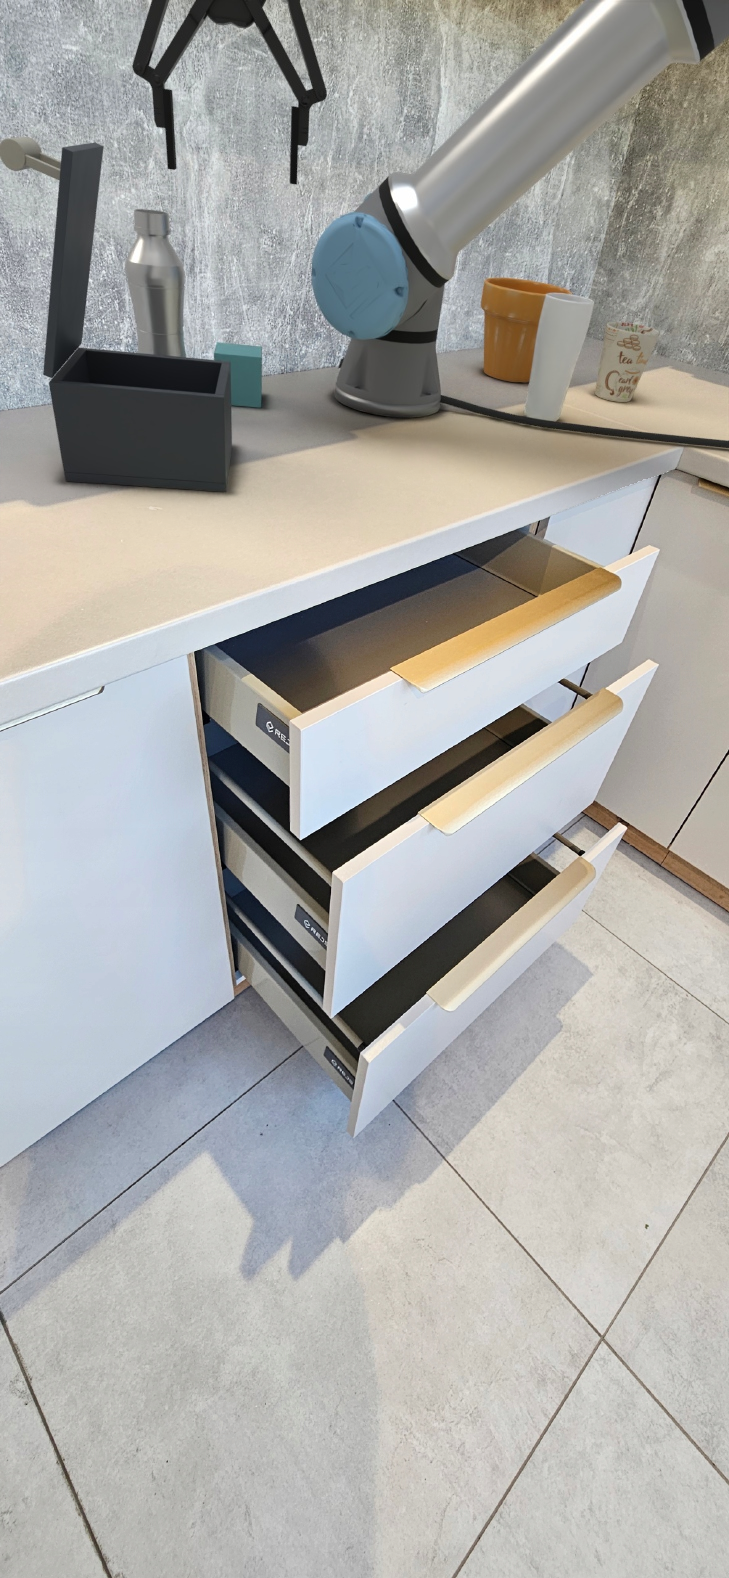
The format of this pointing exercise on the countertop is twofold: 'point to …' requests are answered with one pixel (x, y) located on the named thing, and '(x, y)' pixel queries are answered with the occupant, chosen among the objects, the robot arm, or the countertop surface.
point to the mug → (623, 359)
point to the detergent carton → (243, 372)
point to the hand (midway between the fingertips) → (233, 176)
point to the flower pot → (512, 325)
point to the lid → (65, 237)
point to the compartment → (144, 419)
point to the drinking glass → (556, 353)
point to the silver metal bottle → (156, 286)
